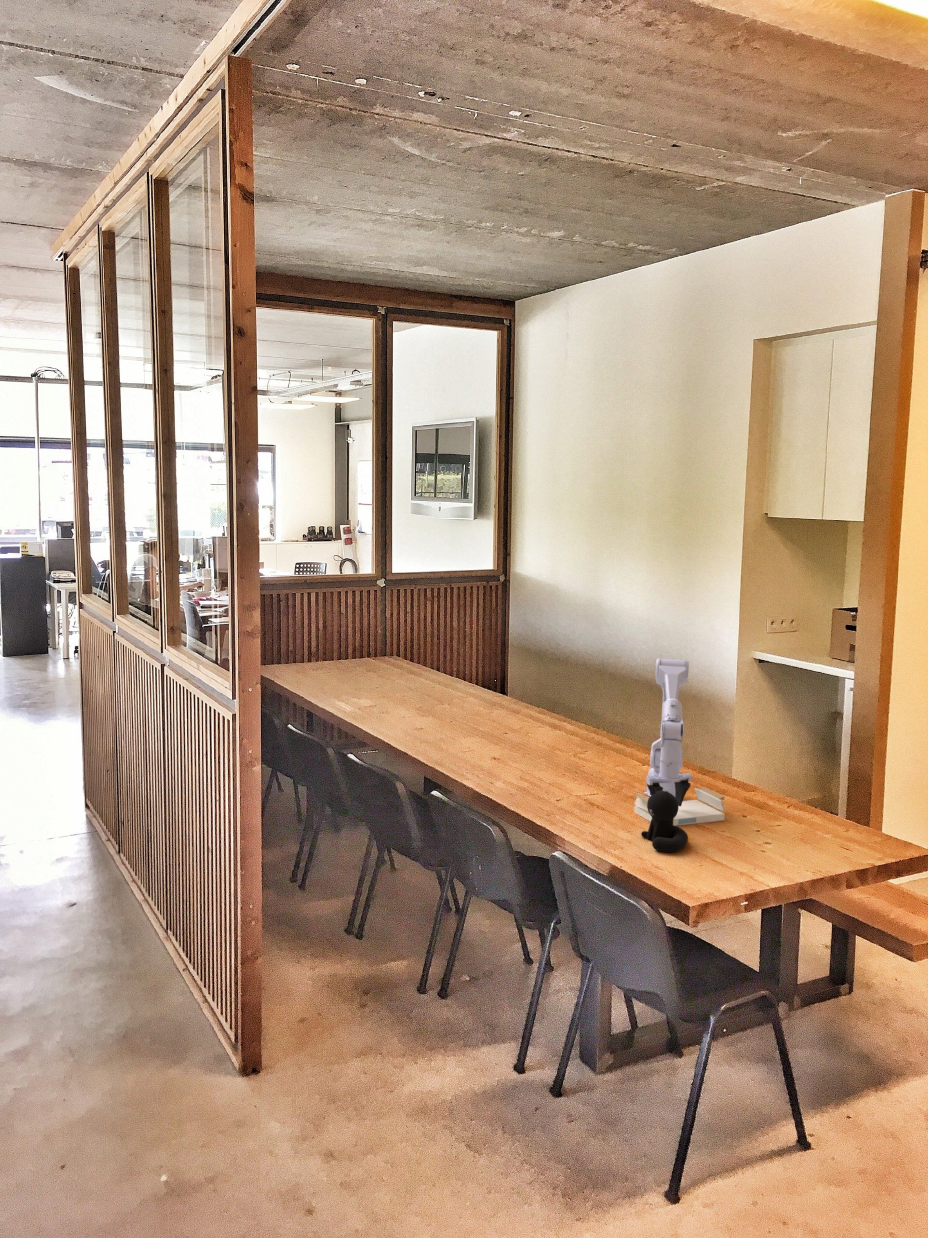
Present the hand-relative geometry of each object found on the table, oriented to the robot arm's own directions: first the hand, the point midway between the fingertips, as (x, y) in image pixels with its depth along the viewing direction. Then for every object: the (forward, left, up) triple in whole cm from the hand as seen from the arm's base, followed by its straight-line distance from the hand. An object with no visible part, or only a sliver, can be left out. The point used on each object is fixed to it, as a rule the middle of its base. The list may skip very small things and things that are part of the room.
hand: (667, 806), depth 298 cm
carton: (0, +4, -3) cm, 5 cm away
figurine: (+19, -13, -4) cm, 23 cm away
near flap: (0, -6, +1) cm, 6 cm away
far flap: (0, +15, +1) cm, 15 cm away
